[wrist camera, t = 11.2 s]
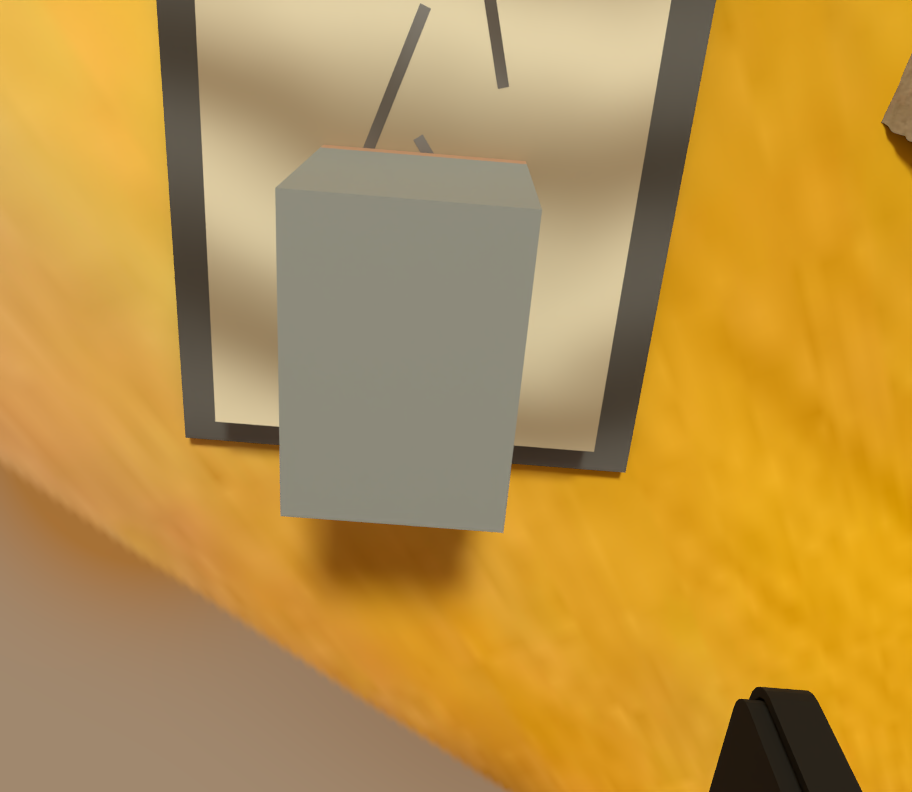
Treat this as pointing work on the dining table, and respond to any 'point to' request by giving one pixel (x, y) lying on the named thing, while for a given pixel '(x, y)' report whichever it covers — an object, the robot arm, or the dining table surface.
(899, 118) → the clay tablet
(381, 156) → the block
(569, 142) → the board
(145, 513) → the dining table surface
